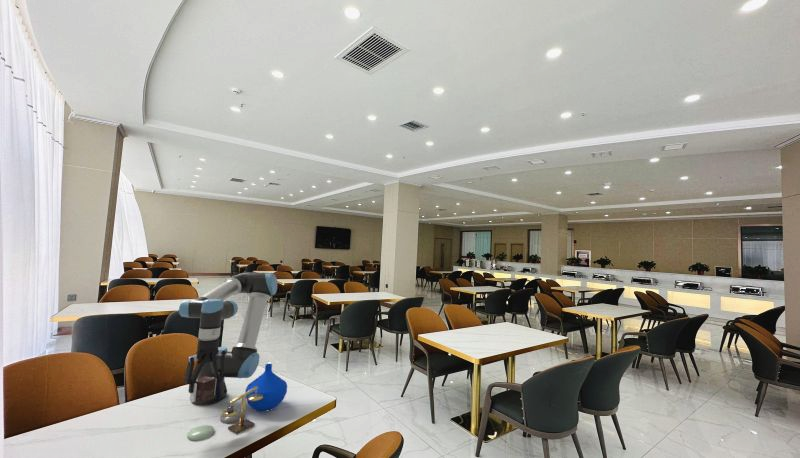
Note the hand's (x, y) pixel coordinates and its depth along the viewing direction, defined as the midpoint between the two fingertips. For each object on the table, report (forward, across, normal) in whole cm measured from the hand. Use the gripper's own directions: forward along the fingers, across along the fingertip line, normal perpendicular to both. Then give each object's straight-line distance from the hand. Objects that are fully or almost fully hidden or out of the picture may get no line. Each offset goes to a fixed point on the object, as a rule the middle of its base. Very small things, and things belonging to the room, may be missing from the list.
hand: (202, 397), depth 128 cm
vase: (+13, +30, 0) cm, 33 cm away
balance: (+14, +13, -8) cm, 20 cm away
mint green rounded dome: (+14, +1, 0) cm, 14 cm away
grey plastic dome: (+13, +15, +2) cm, 20 cm away
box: (+1, 0, 0) cm, 1 cm away
